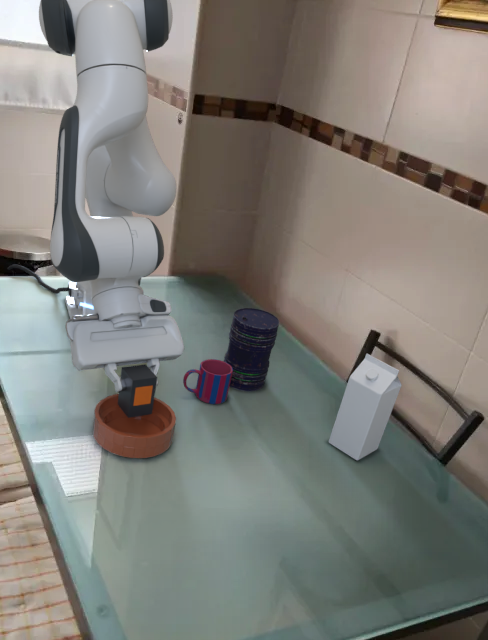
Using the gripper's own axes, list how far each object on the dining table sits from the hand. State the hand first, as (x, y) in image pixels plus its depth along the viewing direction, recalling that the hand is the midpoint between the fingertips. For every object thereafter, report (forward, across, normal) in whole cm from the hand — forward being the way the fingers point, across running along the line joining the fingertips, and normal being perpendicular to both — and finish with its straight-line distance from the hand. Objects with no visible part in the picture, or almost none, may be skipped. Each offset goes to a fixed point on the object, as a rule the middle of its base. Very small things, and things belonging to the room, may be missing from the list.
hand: (137, 388), depth 113 cm
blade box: (+3, 0, +3) cm, 4 cm away
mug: (+1, +21, +14) cm, 25 cm away
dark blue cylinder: (-2, +33, +16) cm, 37 cm away
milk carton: (+18, +41, -4) cm, 45 cm away
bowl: (+7, 0, +7) cm, 10 cm away
